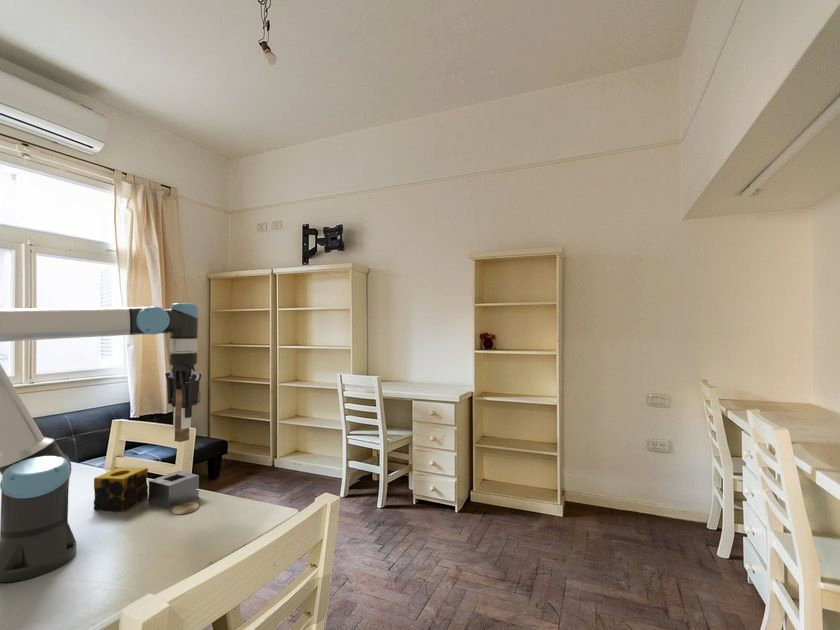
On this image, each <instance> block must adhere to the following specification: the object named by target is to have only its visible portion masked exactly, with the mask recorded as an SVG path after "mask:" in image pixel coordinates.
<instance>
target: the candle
mask: <svg viewBox="0 0 840 630" xmlns="http://www.w3.org/2000/svg"><path fill="white" fill-rule="evenodd" d="M148 471H149V470H148V467H129V466H128V467H127V466H125V467H118V468H115V469H112V470H110V471H108V472H105V473H103V474H100V475H98V476H96V477H94V479H93V490H94V500H93V510H95V511H106V512H108V511H110V512H115V511H116V512H124V511H127V510H129V509H130V508H132V507H134V506H136V505H138V504H139V503H141V502H142V501H145V500H147V499H149V485H148V482H147V480H148V479H147V477H148Z"/></svg>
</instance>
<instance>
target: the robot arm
mask: <svg viewBox="0 0 840 630" xmlns="http://www.w3.org/2000/svg"><path fill="white" fill-rule="evenodd" d="M198 308H199V307H198V305H196V304H195V303H187V302H182V303H181V302H179V303H178V302H174V303H171V305H170V308H167V309H165V308H162V307H160V306H157V305H148V306H132V307H128V306H126V307H125V306H122V307H121V306H115V307H114V306H113V307H109V306H108V307H63V308H62V307H55V308H54V307H53V308H52V307H50V308H49V307H47V308H46V307H44V308H0V343H3V342H4V343H5V342H21V341H22V342H23V341H40V340H41V341H42V340H60V339H77V338H78V339H79V338H81V339H82V338H94V337H95V338H97V337H98V338H99V337H111V336H112V337H114V336H115V337H117V336H118V337H119V336H135V335H138V336H139V335H159V334H165V335H166V334H169V335H170V336H169V337H170V338H169V352H171V353H170V354H169V365H170V366H172V368H171V371H170V372H165V378H166V389H167V404H168V405H171V406H172V417H173V419H172V420H173V422H172V428H173V429H175V408H176V407H175V402H176V389H182V391H183V404H184V406H181V407H182V408H181V429H186V428H189V429H191V427H192V425H191V424H192V423H191V422H192V421H191V420H192V416H193V415H192V414H193V411H192V410H193V406H197V405H198V402H199V393H200V392H199V390H200V381H201V378H202V374H201V373H197V372H196V368H195V365H197V364H198V353H197V351H198V334H199V331H198V330H199V329H198V328H199V309H198ZM71 473H72V462H71V460H70V458H69V457H68V455H66V454H65V453H64V452H63V451H62V450H61V448H60V446H59V445H58V443H57V442H56V440H55V439H54V438H50V437H45V436H44V435H43V433H42V432H41V430H40V428H39V427H38V425H37V423H36V421H35V420H34V419H33V417H32V415H31V413H30V412H29V410H28V408H27V406H26V405H25V402H24V401H23V400H22V398H21V396H20V394H19V393H18V391H17V390H16V387H15V386H14V384H13V383H12V381H11V379H10V377H9V376H8V374H7V372H6V370H5V369H4V368H3V366H2V364H1V363H0V475H1V476H2V477H1V480H0V491H1V498H0V584H4V583H3V582H8V583H12V582H11V581H15V582H18V581H17V580H20V581H23V579H25V580H29V579H33V578H36V577H38V576H41V575H43V574H44V575H45V574H46V573H47V574H48V573H49V572H52V571H54V570H56V569H58V568H60V567H61V566H64V565H65V564H66V563H68V562H69V561H71V560H72V559H73V558H74V557H75V555H76V554H77V540H76V538H75V536H74V533H73V531H72V528H71V527H70V524H69V521H68V520H69V519H68V517H69V487H70V478H71ZM28 578H29V579H28Z"/></svg>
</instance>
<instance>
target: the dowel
mask: <svg viewBox="0 0 840 630" xmlns="http://www.w3.org/2000/svg"><path fill="white" fill-rule="evenodd" d="M181 406H184V404H183V391H182V389H176V402H175V407H176V408H175V428H174V442H176V443H177V442H178V443H182V442H187V441H190V428H186V429H181V408H182V407H181Z"/></svg>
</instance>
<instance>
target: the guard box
mask: <svg viewBox="0 0 840 630" xmlns="http://www.w3.org/2000/svg"><path fill="white" fill-rule="evenodd" d="M196 489H199V490H196ZM199 495H200V475H199V474H195V473H192V472H187V471H181V470H177V471H174V472H171V473H168V474H166V475H165V474H164V475H163V476H159V477H156V478H153V479H150V480H148V504H150V505H153V506H156V507H161V508H164V509H166V510H167V509H168V510H169V509H173V508H174V507H176V506H178V505H180V504H184V503H188V502H189V501H192V500H194V499H196V498H199Z"/></svg>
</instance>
